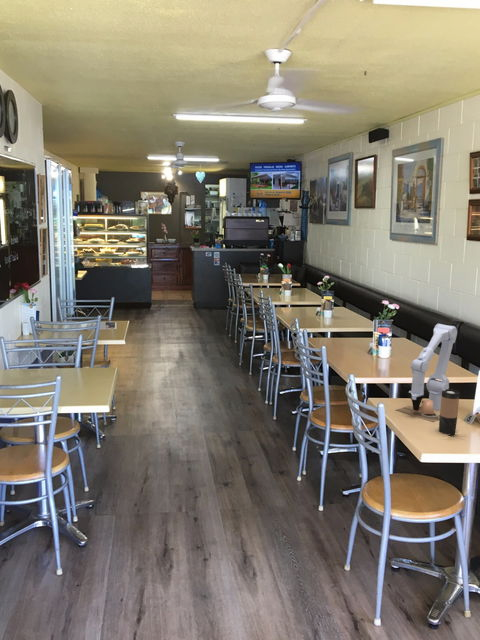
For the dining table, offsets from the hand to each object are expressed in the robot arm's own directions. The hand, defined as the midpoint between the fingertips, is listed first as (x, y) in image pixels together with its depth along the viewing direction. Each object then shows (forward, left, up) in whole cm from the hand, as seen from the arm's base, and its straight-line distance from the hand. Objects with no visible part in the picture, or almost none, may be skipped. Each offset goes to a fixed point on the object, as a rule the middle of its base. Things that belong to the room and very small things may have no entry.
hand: (415, 410), depth 303 cm
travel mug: (+9, +23, -3) cm, 25 cm away
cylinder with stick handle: (-2, +4, -2) cm, 4 cm away
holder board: (-3, +1, -3) cm, 4 cm away
